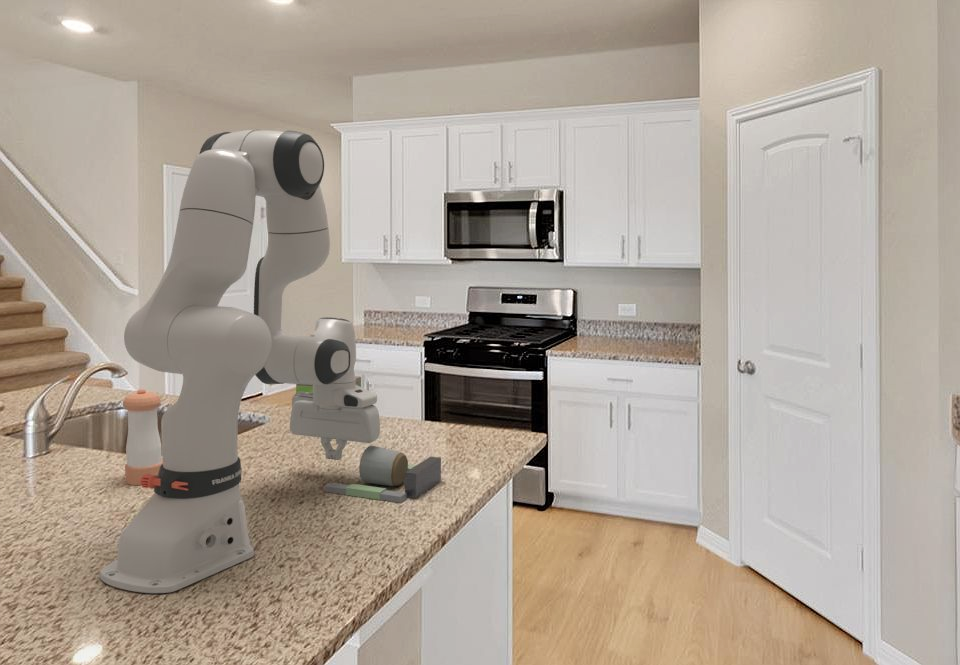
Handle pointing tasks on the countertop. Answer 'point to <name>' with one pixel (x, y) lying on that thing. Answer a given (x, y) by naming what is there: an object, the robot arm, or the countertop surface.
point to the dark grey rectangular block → (422, 477)
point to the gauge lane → (367, 491)
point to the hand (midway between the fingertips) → (333, 458)
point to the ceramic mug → (383, 466)
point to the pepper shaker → (142, 436)
